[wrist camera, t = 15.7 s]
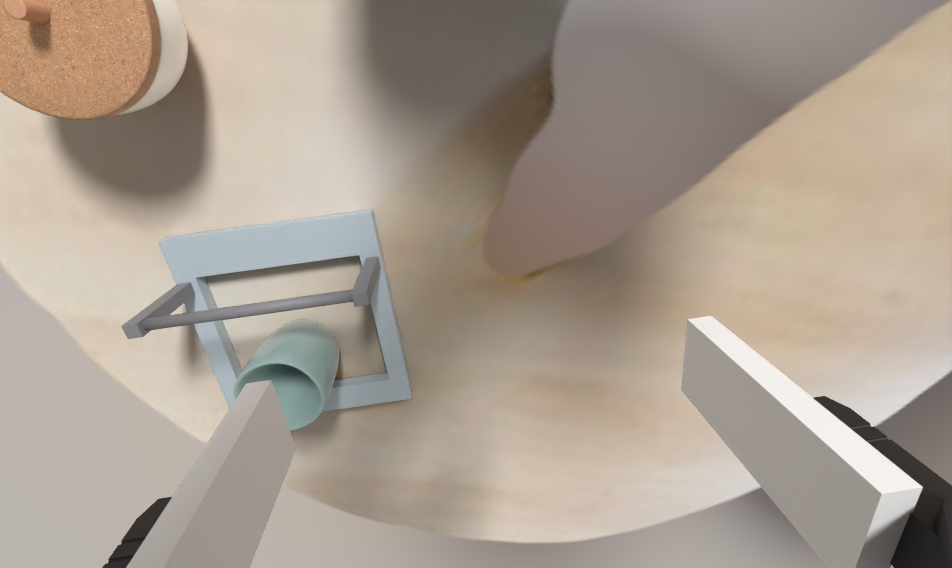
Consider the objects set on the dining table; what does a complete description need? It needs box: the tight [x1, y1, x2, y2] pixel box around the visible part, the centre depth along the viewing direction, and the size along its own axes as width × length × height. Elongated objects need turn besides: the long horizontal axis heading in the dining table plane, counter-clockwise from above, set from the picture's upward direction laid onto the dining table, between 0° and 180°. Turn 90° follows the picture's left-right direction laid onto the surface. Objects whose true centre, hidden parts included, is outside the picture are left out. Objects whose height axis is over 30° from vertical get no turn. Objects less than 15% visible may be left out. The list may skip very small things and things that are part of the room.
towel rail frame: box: [122, 209, 412, 412], centre depth 43 cm, size 22×20×10 cm
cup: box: [234, 319, 339, 431], centre depth 44 cm, size 8×8×10 cm
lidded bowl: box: [0, 0, 188, 120], centre depth 31 cm, size 13×13×11 cm
